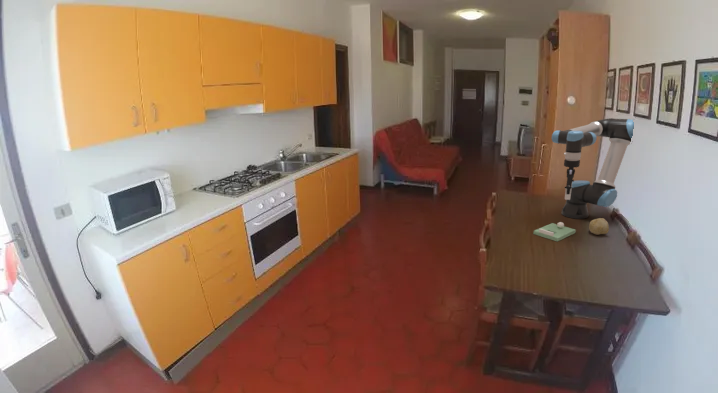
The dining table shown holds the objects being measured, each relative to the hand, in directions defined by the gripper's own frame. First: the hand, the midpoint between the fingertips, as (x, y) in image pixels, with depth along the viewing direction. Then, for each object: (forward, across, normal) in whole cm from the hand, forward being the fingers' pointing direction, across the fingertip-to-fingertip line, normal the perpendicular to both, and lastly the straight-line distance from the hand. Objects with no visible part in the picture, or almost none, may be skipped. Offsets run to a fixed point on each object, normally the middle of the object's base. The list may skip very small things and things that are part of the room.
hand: (567, 196), depth 207 cm
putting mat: (+22, +5, -4) cm, 23 cm away
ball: (+18, -1, -2) cm, 19 cm away
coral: (+23, -5, +17) cm, 29 cm away
